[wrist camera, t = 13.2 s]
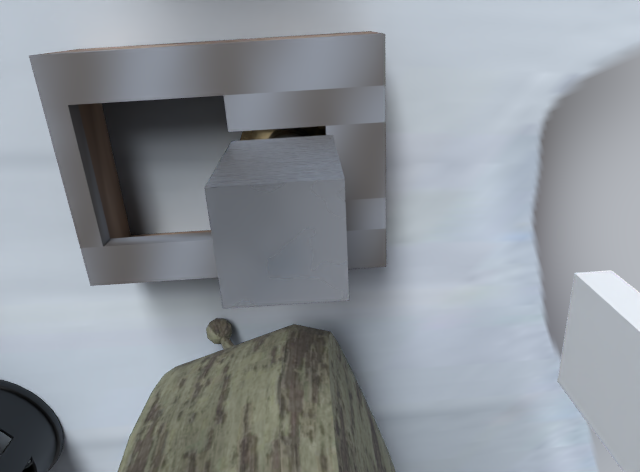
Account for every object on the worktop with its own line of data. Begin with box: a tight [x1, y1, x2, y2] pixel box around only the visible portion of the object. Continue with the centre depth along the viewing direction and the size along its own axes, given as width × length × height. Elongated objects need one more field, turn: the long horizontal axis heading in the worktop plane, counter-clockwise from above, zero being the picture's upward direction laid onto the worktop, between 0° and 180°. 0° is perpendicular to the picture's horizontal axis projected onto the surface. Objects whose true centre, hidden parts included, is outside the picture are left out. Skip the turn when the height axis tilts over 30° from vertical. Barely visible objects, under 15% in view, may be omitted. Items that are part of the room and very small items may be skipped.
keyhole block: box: [29, 31, 386, 286], centre depth 26 cm, size 15×11×5 cm
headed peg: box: [205, 126, 349, 308], centre depth 22 cm, size 5×5×14 cm
